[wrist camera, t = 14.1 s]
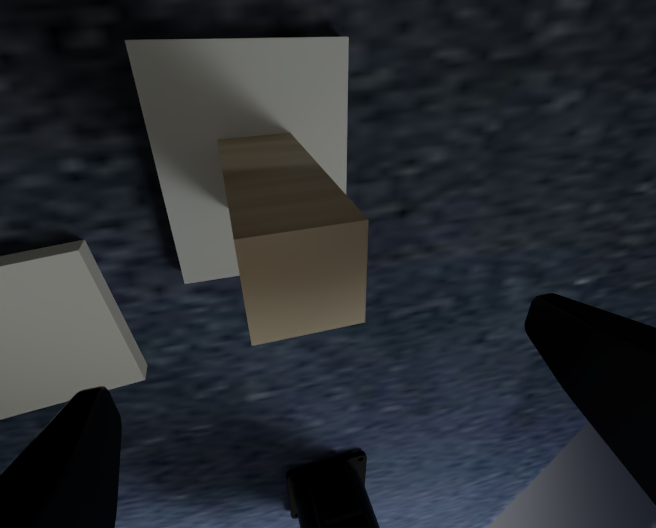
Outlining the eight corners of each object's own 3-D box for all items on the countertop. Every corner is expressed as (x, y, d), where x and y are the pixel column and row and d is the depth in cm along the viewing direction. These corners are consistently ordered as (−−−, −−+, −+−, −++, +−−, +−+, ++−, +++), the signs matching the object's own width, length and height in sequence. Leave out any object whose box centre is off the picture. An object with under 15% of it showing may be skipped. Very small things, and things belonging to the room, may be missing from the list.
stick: (295, 200, 18) (365, 322, 10) (229, 208, 17) (251, 345, 10) (290, 132, 16) (368, 219, 9) (217, 139, 15) (233, 239, 8)
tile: (145, 379, 20) (-3, 420, 19) (148, 358, 22) (10, 395, 20) (78, 250, 16) (-118, 290, 15) (87, 234, 17) (-93, 269, 16)
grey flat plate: (339, 250, 21) (345, 259, 20) (185, 273, 19) (184, 284, 18) (340, 36, 16) (348, 36, 15) (129, 39, 14) (124, 40, 13)
